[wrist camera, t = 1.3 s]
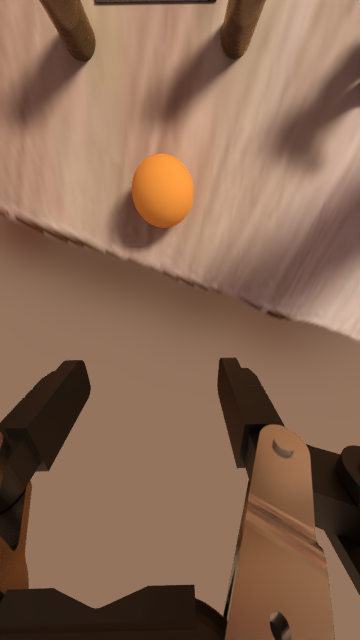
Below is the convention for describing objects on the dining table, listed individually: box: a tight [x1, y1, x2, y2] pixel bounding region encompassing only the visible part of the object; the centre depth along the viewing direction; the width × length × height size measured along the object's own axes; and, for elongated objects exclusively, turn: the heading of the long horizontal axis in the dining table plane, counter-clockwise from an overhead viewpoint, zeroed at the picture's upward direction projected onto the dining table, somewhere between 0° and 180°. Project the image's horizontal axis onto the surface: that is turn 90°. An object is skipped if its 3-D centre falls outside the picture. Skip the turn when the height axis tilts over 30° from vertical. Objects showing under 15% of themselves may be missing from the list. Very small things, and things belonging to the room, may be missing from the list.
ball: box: [132, 154, 193, 228], centre depth 19 cm, size 6×6×6 cm
